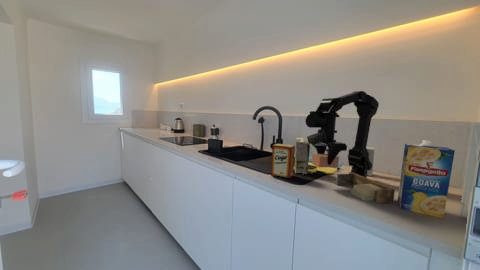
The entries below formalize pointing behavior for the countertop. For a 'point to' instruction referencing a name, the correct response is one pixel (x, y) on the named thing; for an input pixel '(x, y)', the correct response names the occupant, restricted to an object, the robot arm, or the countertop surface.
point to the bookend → (344, 179)
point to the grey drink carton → (302, 157)
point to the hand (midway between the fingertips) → (324, 162)
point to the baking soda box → (282, 160)
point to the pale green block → (365, 192)
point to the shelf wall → (382, 194)
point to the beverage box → (425, 179)
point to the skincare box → (371, 157)
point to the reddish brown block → (323, 160)
